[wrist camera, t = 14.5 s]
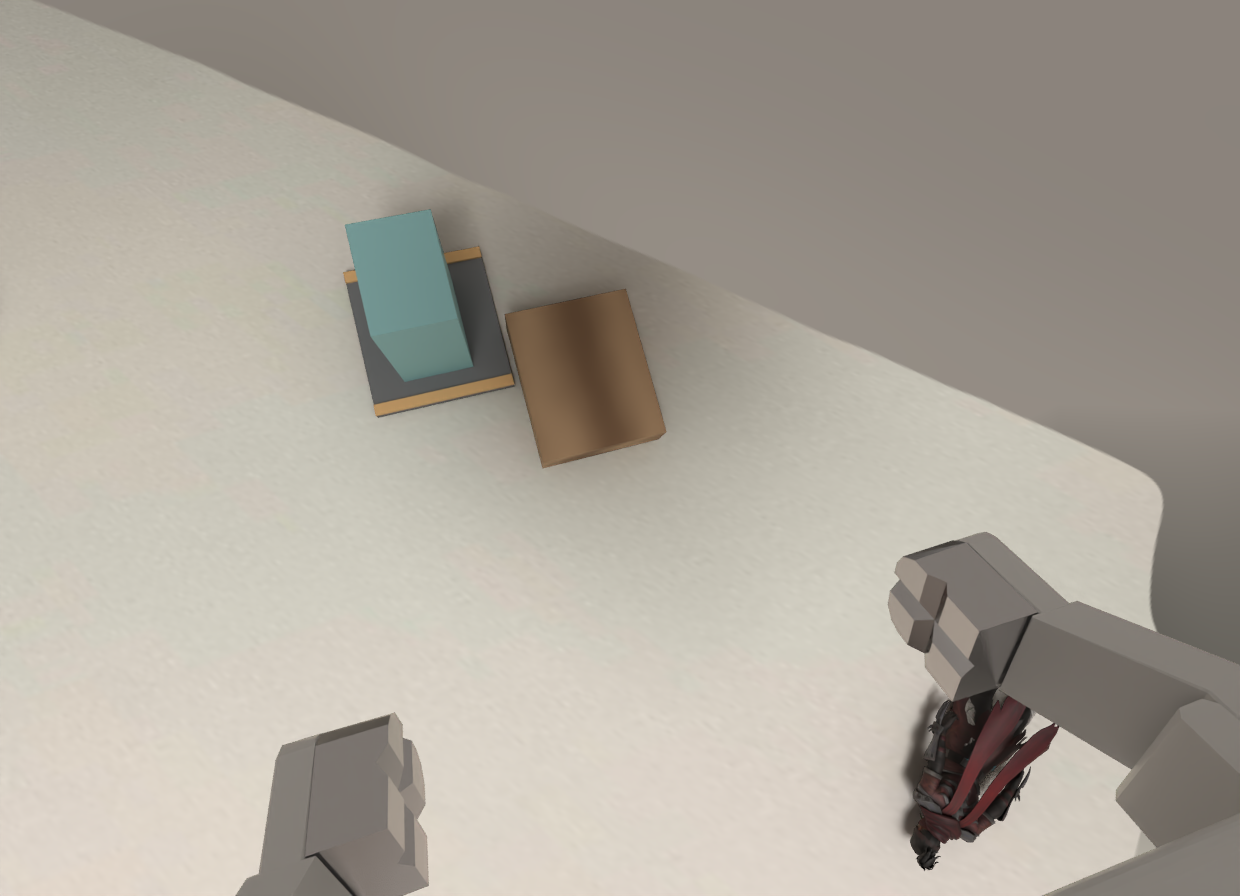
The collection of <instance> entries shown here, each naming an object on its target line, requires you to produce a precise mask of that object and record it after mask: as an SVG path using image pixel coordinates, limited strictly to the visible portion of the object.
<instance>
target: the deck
mask: <svg viewBox="0 0 1240 896" xmlns="http://www.w3.org/2000/svg"><path fill="white" fill-rule="evenodd" d="M505 320H506V328H507V332H508V336H509V340H510V344H511V348H512V351H513V355H514V359H515V363H516V367H517V371H518V375H519V379H520V382H521V386H522V390H523V394H524V398H525V402H526V406H527V410H528V413H529V417H530V421H531V425H532V429H533V433H534V437H535V441H536V444H537V448H538V452H539V456H540V460H541V464H542V468H546V467H550V466H554V465H558V464H562V463H566V462H570V461H574V460H578V459H582V458H586V457H590V456H594V455H598V454H602V453H606V452H610V451H613V450H617V449H621V448H625V447H629V446H633V445H637V444H641V443H645V442H649V441H653V440H657V439H659V438H660V437H661V436H662V435H664V434H665V433H666V429H665V425H664V422H663V418H662V415H661V411H660V408H659V404H658V401H657V397H656V393H655V390H654V386H653V383H652V379H651V376H650V372H649V369H648V365H647V362H646V358H645V355H644V351H643V348H642V344H641V341H640V337H639V334H638V330H637V327H636V323H635V320H634V316H633V313H632V309H631V306H630V302H629V299H628V295H627V291H626V289H622V290H617V291H613V292H608V293H603V294H598V295H594V296H589V297H584V298H579V299H575V300H570V301H565V302H560V303H556V304H551V305H546V306H541V307H537V308H532V309H527V310H522V311H518V312H513V313H508V314H505Z"/></svg>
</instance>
